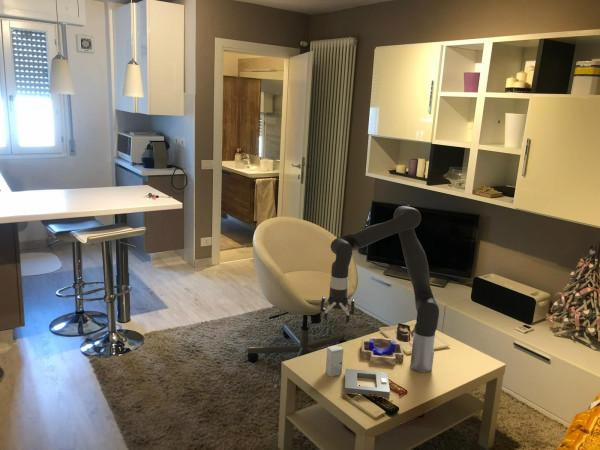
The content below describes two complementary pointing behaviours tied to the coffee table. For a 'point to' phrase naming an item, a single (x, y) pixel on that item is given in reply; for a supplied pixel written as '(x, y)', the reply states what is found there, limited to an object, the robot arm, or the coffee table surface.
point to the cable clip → (380, 352)
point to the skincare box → (334, 360)
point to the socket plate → (367, 382)
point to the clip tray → (382, 359)
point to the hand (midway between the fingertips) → (336, 321)
